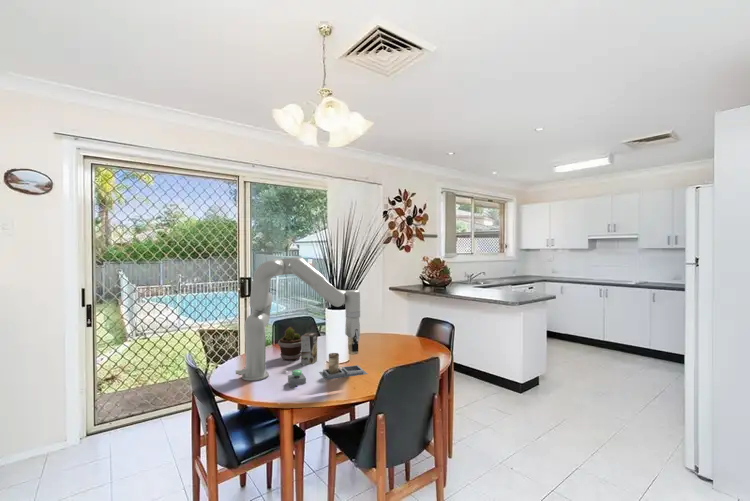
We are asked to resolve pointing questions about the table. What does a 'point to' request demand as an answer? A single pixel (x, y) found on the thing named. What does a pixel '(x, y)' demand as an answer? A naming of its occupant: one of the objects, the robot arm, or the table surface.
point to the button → (296, 373)
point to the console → (296, 380)
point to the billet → (351, 346)
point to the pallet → (343, 372)
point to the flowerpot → (290, 345)
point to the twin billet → (333, 363)
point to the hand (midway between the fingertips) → (353, 349)
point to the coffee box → (308, 348)
